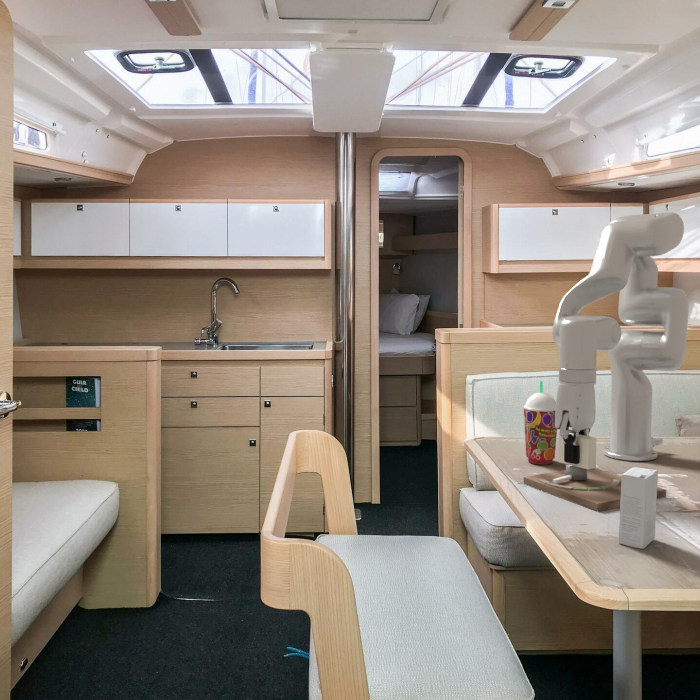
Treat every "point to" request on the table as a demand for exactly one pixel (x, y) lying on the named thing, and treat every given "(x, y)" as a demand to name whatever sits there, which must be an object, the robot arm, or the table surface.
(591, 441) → the pointer knob
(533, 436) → the smoothie
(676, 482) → the table surface
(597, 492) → the tuner board
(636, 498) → the skincare box
